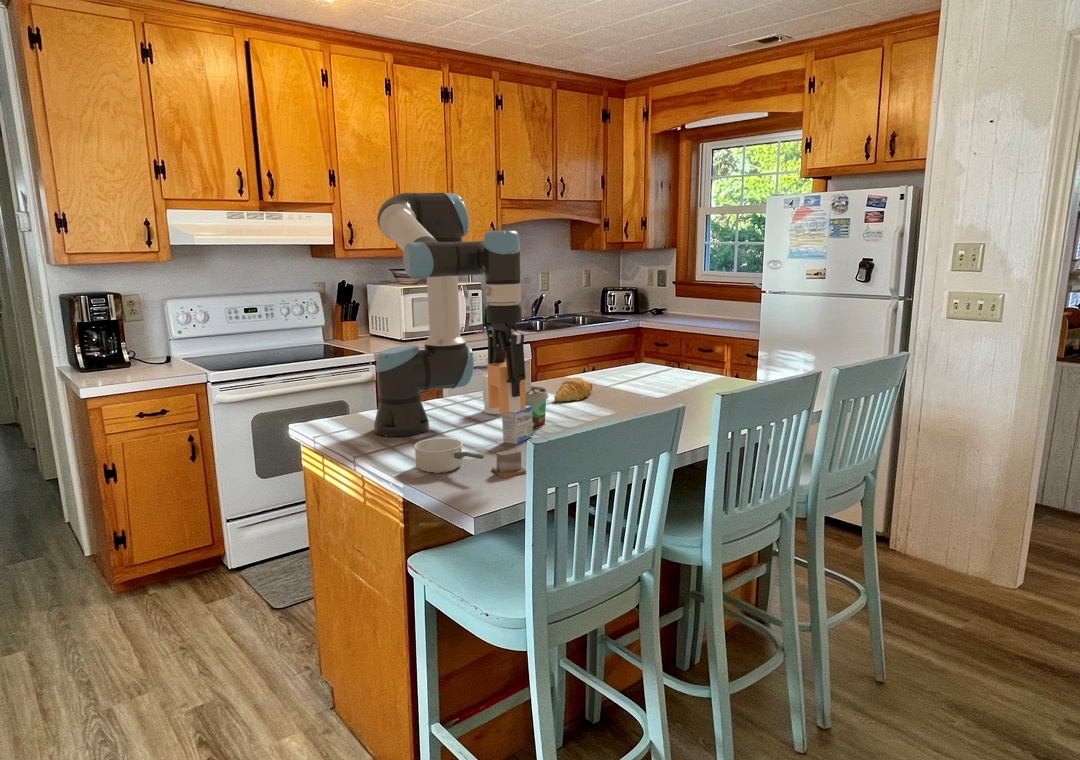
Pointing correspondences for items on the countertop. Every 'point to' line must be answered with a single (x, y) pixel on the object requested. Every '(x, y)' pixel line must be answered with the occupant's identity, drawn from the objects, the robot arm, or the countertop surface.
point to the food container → (537, 404)
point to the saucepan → (440, 454)
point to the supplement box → (527, 375)
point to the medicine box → (517, 426)
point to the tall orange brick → (501, 387)
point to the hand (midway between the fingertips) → (507, 407)
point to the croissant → (573, 390)
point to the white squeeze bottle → (486, 398)
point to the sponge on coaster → (509, 463)
